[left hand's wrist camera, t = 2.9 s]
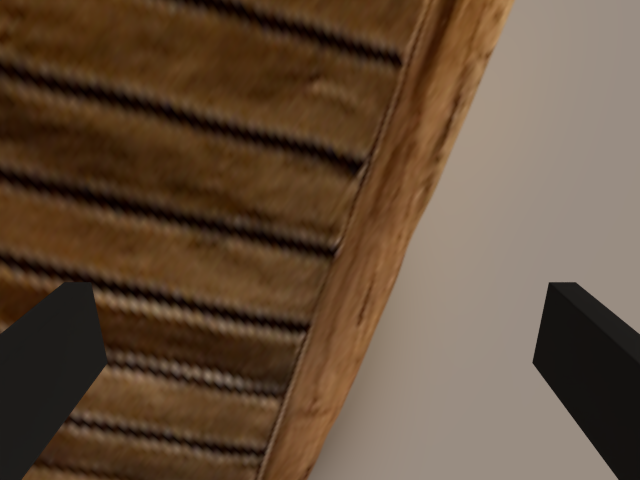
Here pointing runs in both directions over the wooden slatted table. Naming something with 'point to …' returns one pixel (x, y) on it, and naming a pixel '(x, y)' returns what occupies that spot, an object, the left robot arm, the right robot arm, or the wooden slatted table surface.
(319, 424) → the wooden slatted table surface
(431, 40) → the wooden slatted table surface
